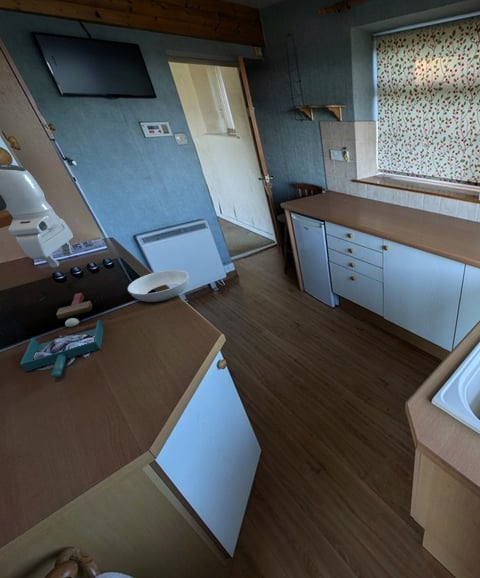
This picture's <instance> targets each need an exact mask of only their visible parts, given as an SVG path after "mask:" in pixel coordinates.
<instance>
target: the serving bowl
mask: <svg viewBox="0 0 480 578" xmlns="http://www.w3.org/2000/svg"><path fill="white" fill-rule="evenodd" d="M189 284H190V276H189V273H188V272H187V271H185V270H181V269H166V270H160V271H159V270H158V271H155V272H152V273H149V274H145V275H143V276H141V277H140V276H139V278H136V279H135V280H133V281H132V282H130V283H129V285H128V286H127V291H128V292H129V294H130V295H131V297H133V298H134V299H136V300H138V301H141V302H146V303H156V302H163V301H166V300H170V299H173V298H175V297H177V296H179V295H181V294H182V293H183V292H184V291H185V290H186V289H187V288H188V286H189ZM166 285H175V286H172V287H171V288H168V289H164V290H160V291H156V292H150V291H152V290H154V289H156V288H159V287H162V286H166ZM149 292H150V293H149Z"/></svg>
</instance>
